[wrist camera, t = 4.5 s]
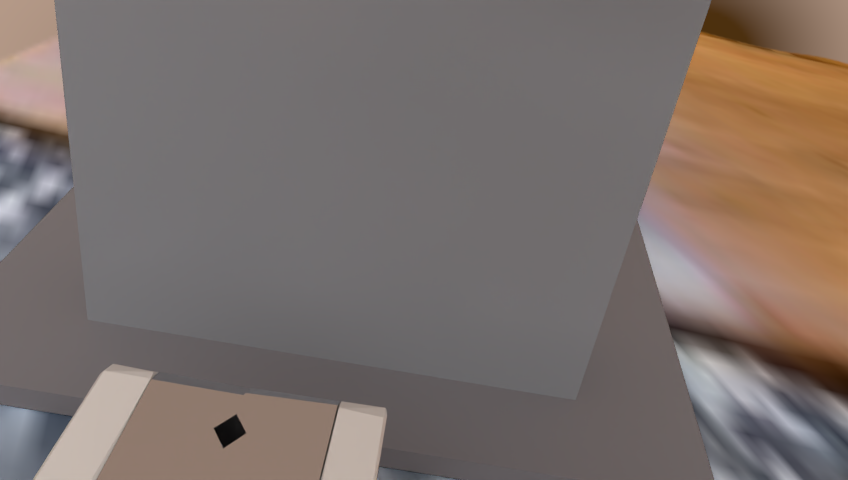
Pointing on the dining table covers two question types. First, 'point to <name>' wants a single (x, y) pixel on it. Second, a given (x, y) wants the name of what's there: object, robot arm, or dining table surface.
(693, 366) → the dining table surface
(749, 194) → the dining table surface
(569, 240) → the glazed tile
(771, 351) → the dining table surface
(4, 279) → the felt mat
